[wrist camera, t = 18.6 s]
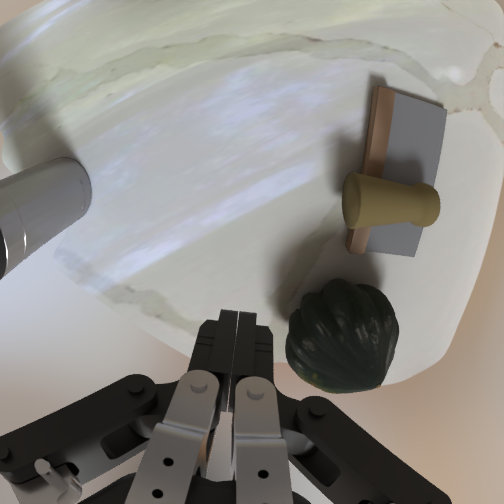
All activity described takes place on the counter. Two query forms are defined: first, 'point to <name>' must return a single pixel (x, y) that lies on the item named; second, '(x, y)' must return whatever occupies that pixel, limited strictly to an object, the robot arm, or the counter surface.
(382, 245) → the slate mat
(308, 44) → the counter surface
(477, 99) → the counter surface
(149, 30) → the counter surface
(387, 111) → the walnut rail
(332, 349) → the squash
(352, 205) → the olive pawn-shaped piece
